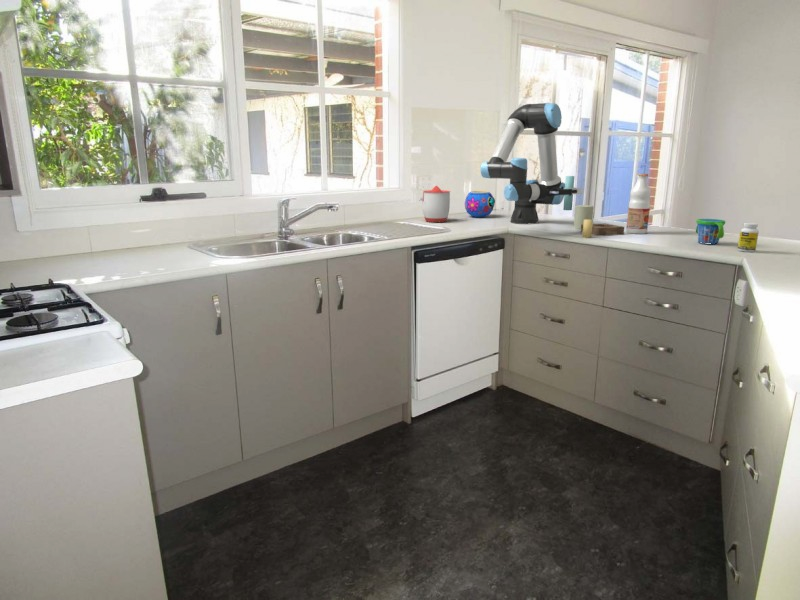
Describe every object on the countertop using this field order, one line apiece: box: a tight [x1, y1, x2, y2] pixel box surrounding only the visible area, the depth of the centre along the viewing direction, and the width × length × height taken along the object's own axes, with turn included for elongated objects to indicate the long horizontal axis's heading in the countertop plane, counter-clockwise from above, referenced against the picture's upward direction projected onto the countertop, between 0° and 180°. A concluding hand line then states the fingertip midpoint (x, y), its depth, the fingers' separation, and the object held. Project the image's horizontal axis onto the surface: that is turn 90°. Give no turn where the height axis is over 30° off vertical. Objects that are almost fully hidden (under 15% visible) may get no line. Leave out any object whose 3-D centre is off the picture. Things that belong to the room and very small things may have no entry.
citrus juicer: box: [419, 185, 451, 223], centre depth 313 cm, size 16×17×20 cm
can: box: [573, 204, 595, 230], centre depth 286 cm, size 9×9×12 cm
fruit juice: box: [626, 173, 652, 235], centre depth 268 cm, size 9×9×28 cm
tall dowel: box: [562, 175, 575, 211], centre depth 269 cm, size 4×4×16 cm
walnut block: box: [580, 222, 625, 236], centre depth 271 cm, size 14×14×4 cm
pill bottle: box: [737, 222, 759, 253], centre depth 221 cm, size 6×6×11 cm
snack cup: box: [695, 218, 726, 245], centre depth 239 cm, size 16×10×10 cm
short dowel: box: [581, 219, 594, 239], centre depth 257 cm, size 4×4×8 cm
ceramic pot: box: [464, 190, 496, 218], centre depth 334 cm, size 18×18×15 cm
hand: (578, 190), depth 270 cm, fingers closed on tall dowel, 4 cm apart
